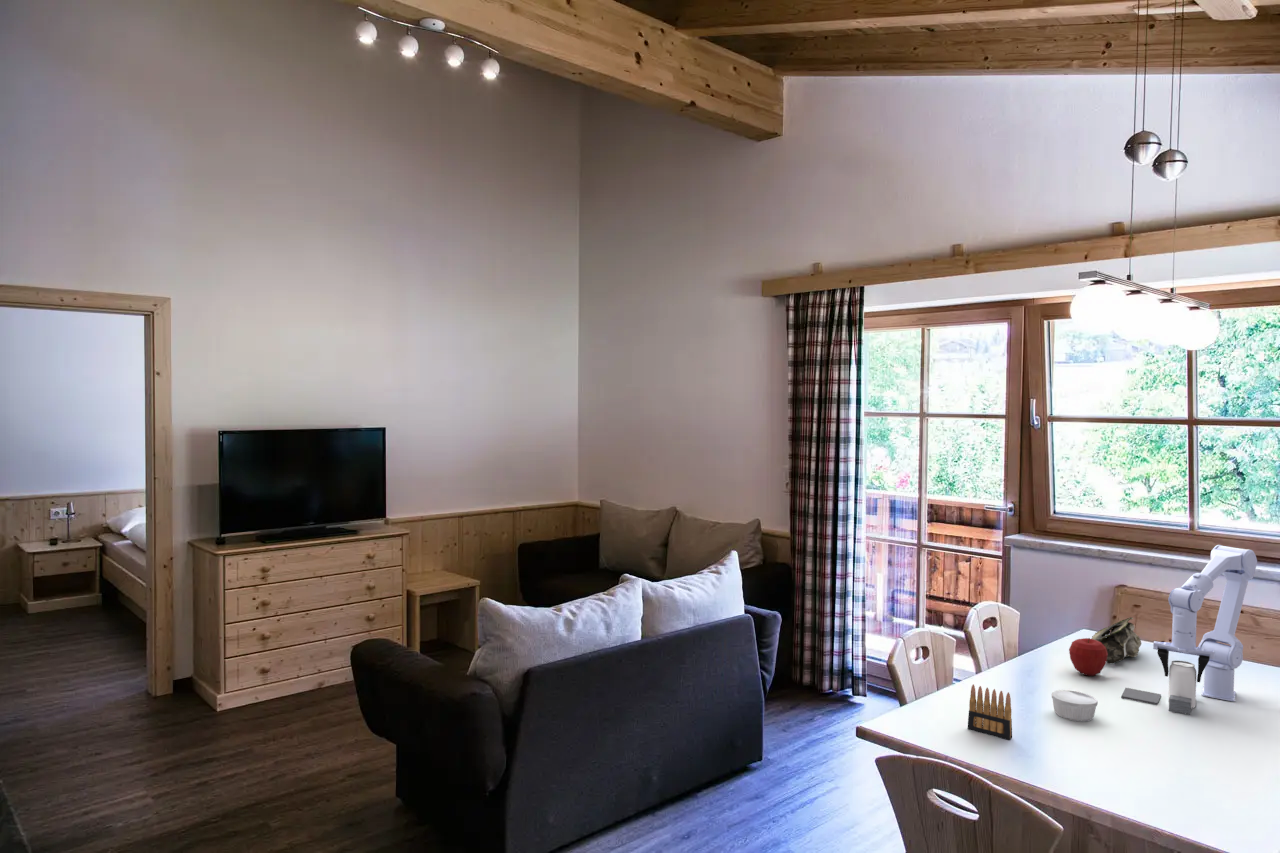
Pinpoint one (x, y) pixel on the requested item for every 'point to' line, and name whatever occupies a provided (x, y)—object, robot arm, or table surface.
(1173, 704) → the block
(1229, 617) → the robot arm
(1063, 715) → the ramekin
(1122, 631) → the hollow geode rock
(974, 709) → the ammunition clip
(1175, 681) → the can
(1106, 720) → the table surface
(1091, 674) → the apple
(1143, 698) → the mat
